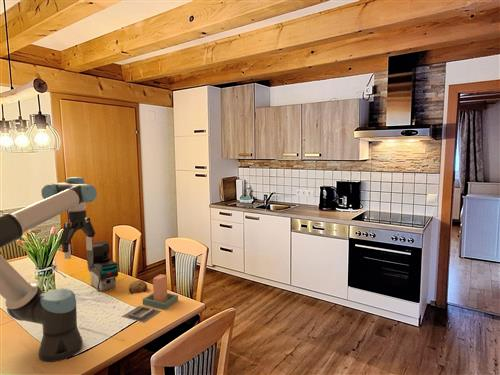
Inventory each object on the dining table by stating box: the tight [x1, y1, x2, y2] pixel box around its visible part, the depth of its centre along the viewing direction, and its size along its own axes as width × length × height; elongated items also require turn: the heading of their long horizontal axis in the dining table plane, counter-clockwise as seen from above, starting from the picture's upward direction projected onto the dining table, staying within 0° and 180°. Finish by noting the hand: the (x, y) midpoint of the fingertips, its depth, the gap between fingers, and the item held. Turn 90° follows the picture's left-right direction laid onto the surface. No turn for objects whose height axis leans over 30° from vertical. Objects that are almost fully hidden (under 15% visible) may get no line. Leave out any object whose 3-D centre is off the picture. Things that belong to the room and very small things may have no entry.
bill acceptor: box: [86, 240, 119, 292], centre depth 188 cm, size 10×23×25 cm, turn 44°
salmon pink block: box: [152, 274, 168, 303], centre depth 166 cm, size 6×4×14 cm, turn 157°
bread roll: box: [128, 279, 148, 295], centre depth 183 cm, size 10×10×8 cm
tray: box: [142, 292, 179, 311], centre depth 167 cm, size 11×14×4 cm
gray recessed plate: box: [120, 305, 162, 324], centre depth 155 cm, size 12×14×3 cm
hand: (79, 254), depth 151 cm, fingers open, 13 cm apart
